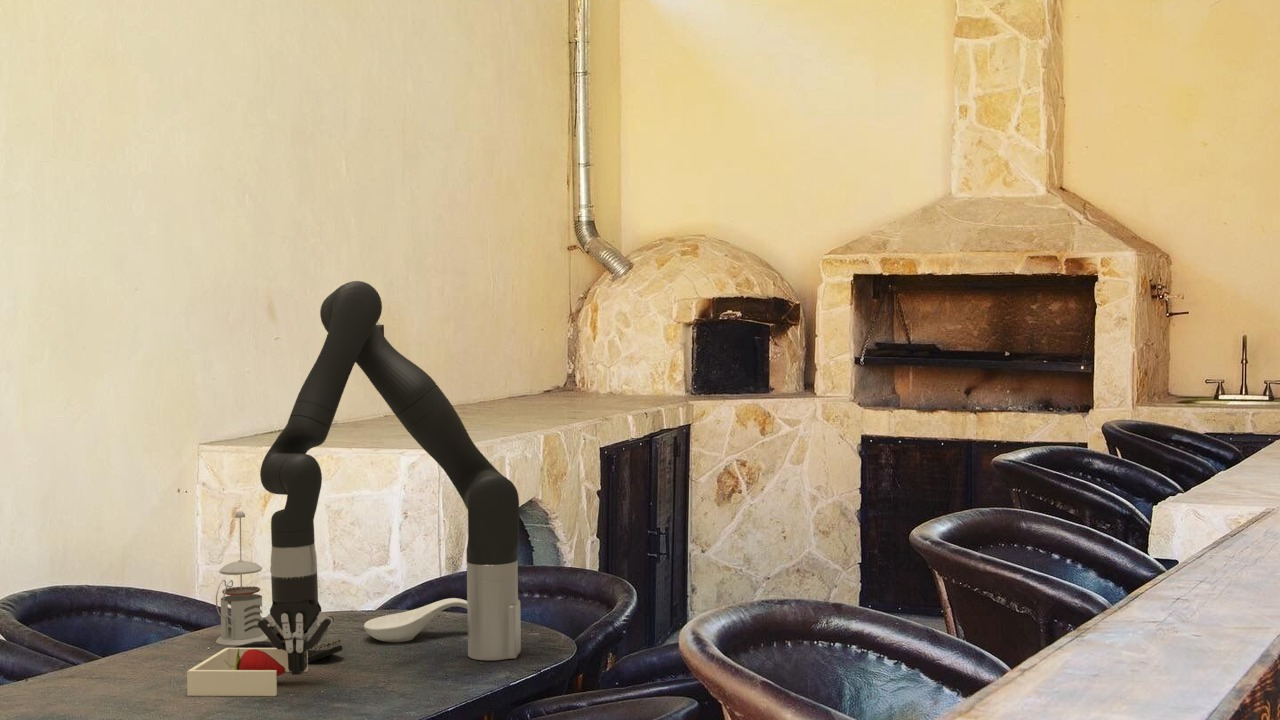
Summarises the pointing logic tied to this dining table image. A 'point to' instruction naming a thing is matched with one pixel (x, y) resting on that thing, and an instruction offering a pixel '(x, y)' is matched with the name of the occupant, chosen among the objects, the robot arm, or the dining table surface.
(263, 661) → the strawberry
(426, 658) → the dining table surface
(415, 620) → the spoon rest
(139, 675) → the dining table surface
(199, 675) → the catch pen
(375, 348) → the robot arm
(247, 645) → the hairbrush
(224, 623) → the french press
